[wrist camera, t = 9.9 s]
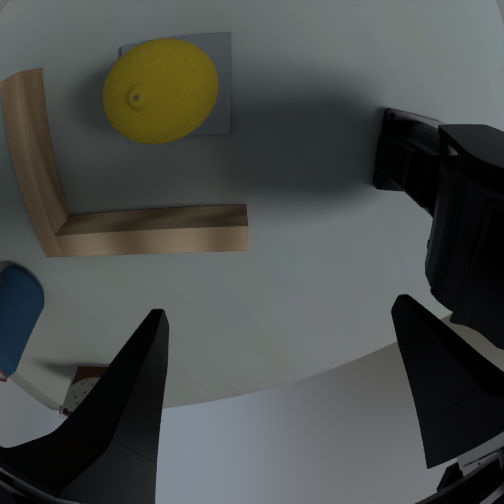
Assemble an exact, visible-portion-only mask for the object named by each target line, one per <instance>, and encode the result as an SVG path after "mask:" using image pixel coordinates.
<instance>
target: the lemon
mask: <svg viewBox="0 0 504 504" xmlns="http://www.w3.org/2000/svg"><path fill="white" fill-rule="evenodd" d="M217 93H218V75H217V72H216V70H215V67H214V64H213V62H212V61H211V60H210V58H209V57H208V56H207V54H206V53H205V52H204V51H202V50H201V49H199V48H198V47H197V46H195V45H194V44H191V43H189V42H186V41H183V40H180V39H171V38H162V39H156V40H150V41H147V42H145V43H142V44H140V45H138V46H135V47H133V48H132V49H131V50H129V51H128V52H127V53H125V54H124V55H123V56H121V57H120V58H119V59H118V61H117V62H116V63H115V64H114V66H113V67H112V68H111V70H110V72H109V74H108V76H107V78H106V80H105V84H104V89H103V107H104V110H105V114H106V117H107V118H108V120H109V122H110V123H111V125H112V126H113V127H114V128H115V129H116V130H117V131H118V132H119V133H120V134H121V135H123V136H125V137H127V138H128V139H130V140H132V141H135V142H139V143H143V144H162V143H167V142H172V141H175V140H178V139H180V138H182V137H184V136H186V135H188V134H190V133H191V132H192V131H194V130H195V129H196V128H198V127H199V126H200V125H201V124H202V123H203V122H204V120H205V119H206V118H207V117H208V115H209V114H210V113H211V110H212V108H213V106H214V104H215V102H216V98H217Z"/></svg>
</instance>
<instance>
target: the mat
mask: <svg viewBox="0 0 504 504" xmlns="http://www.w3.org/2000/svg"><path fill="white" fill-rule="evenodd" d="M168 38H171V39H180V40H183V41H186V42H189V43H191V44H194V45H195V46H197V47H198V48H199V49H201V50H202V51H204V52H205V53H206V54H207V56H208V57H209V58H210V60H211V61H212V62H213V64H214V67H215V70H216V72H217V75H218V93H217V98H216V102H215V104H214V106H213V108H212V110H211V113H210V114H209V115H208V117H207V118H206V119H205V120H204V122H203V123H202V124H201V125H200V126H199V127H198V128H196V129H195V130H194V131H192V132H191V133H190V134H188V135H186V136H194V135H211V134H231V32H221V33H204V34H192V35H183V36H175V37H168ZM161 39H162V38H161ZM155 40H156V39H155ZM149 41H150V40H149ZM145 42H147V41H144V42H139V43H134V44H130V45H125V46H121V50H122V56H123V55H124V54H125V53H127V52H128V51H129V50H131V49H132V48H133V47H135V46H138V45H140V44H142V43H145ZM129 142H135V141H132V140H130V139H129Z"/></svg>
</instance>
